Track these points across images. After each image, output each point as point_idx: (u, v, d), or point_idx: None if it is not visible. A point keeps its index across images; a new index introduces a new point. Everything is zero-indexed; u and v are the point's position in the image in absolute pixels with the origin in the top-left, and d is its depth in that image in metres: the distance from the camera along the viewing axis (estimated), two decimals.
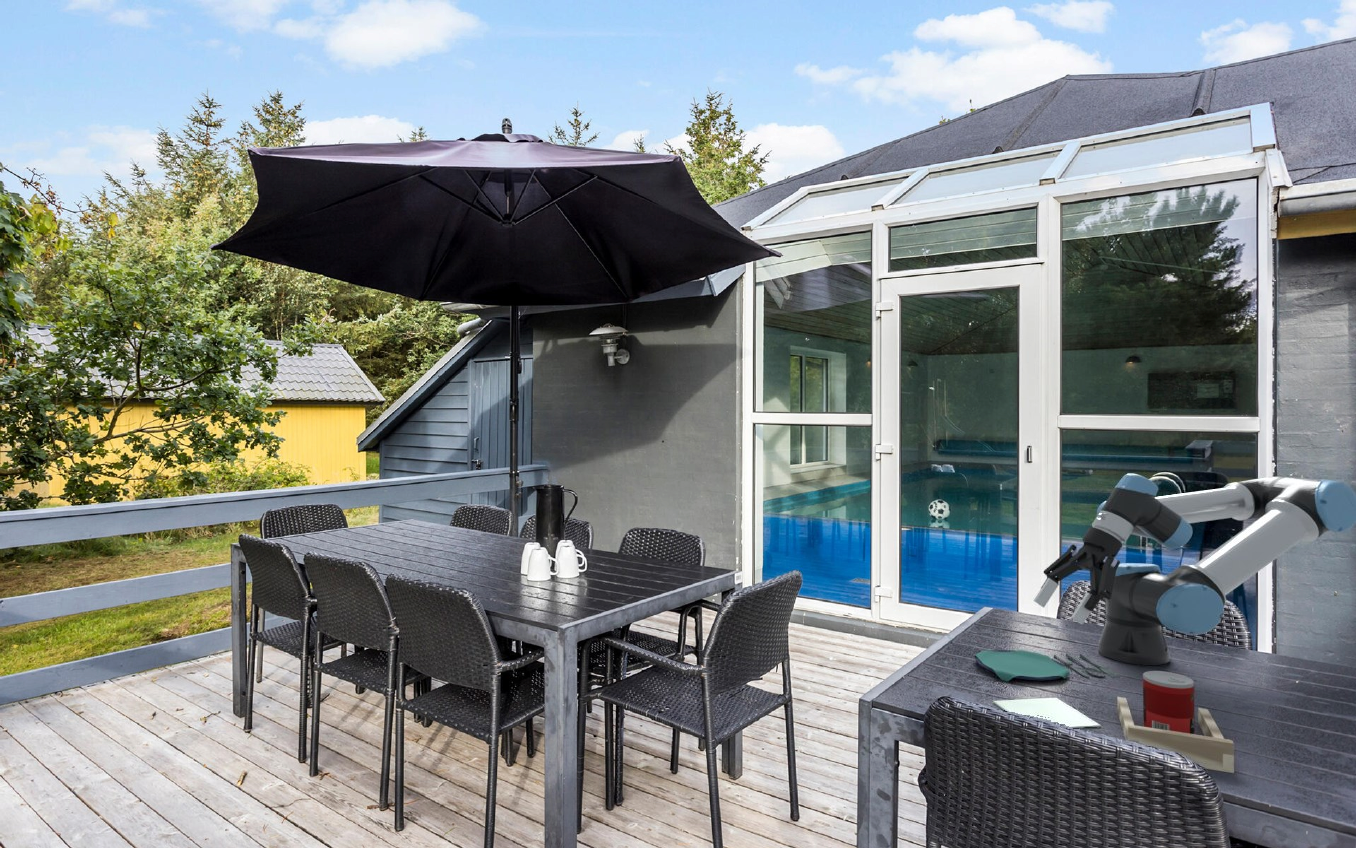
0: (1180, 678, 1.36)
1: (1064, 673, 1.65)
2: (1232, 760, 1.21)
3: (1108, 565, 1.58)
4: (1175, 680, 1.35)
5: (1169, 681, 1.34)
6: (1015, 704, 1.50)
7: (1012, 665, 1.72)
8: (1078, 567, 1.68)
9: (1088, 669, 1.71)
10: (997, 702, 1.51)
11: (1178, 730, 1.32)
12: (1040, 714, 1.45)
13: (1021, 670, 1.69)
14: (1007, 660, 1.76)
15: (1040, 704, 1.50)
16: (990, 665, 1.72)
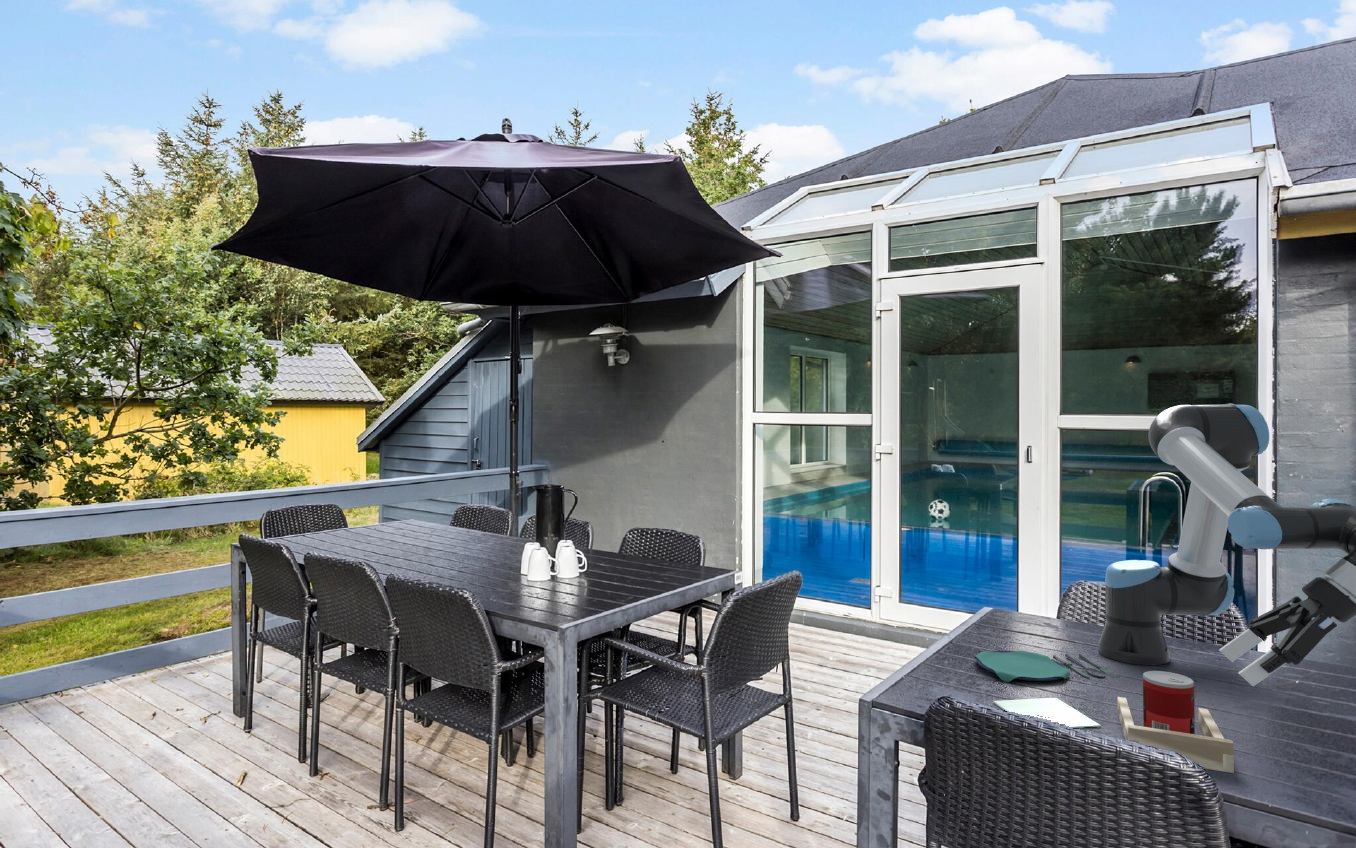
0: (1180, 678, 1.36)
1: (1065, 673, 1.65)
2: (1232, 760, 1.21)
3: None
4: (1175, 680, 1.35)
5: (1169, 681, 1.34)
6: (1015, 704, 1.50)
7: (1012, 666, 1.72)
8: None
9: (1088, 669, 1.71)
10: (997, 702, 1.51)
11: (1178, 730, 1.32)
12: (1040, 714, 1.45)
13: (1022, 671, 1.68)
14: (1007, 660, 1.76)
15: (1040, 704, 1.50)
16: (990, 666, 1.71)
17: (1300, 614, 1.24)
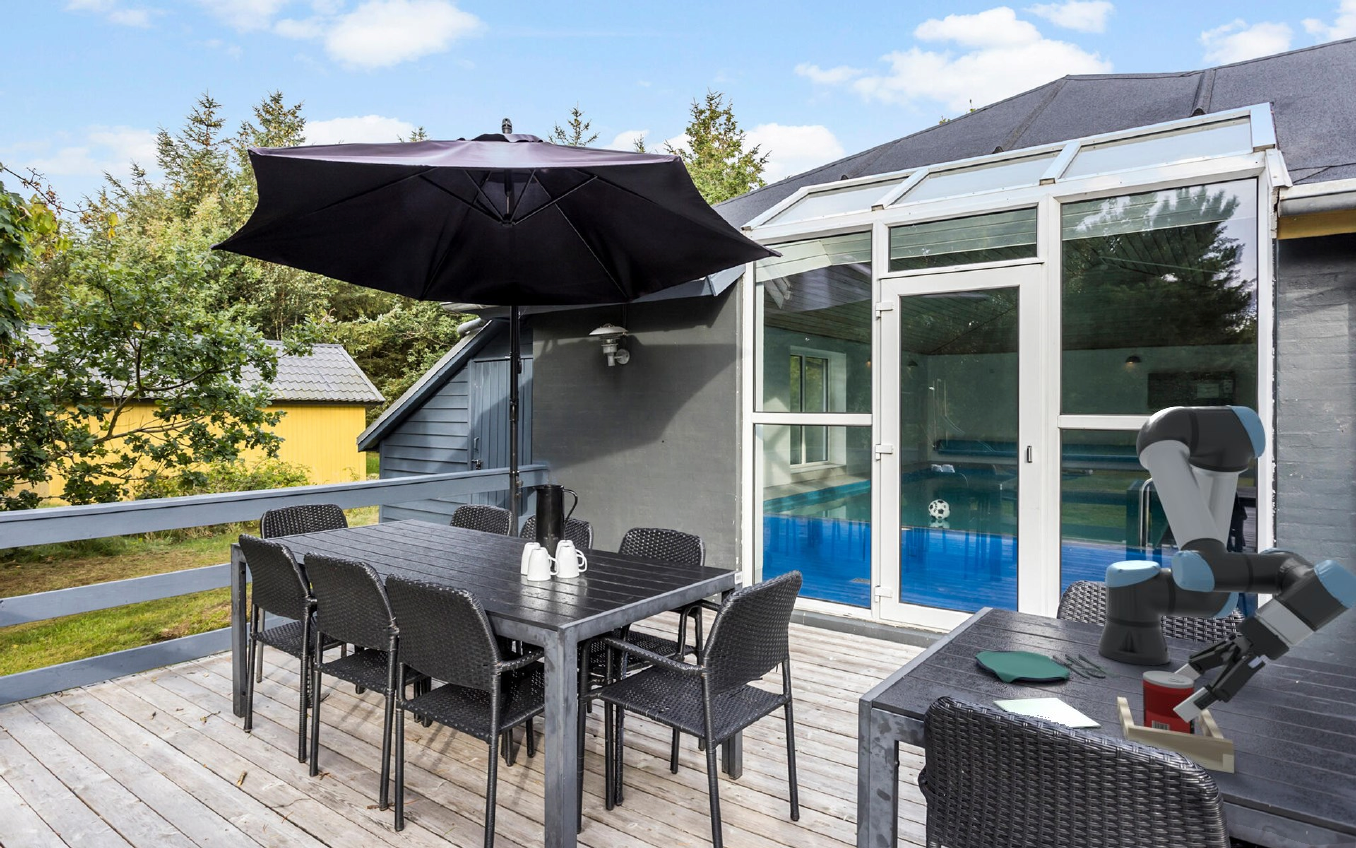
0: (1180, 678, 1.36)
1: (1065, 674, 1.64)
2: (1232, 760, 1.21)
3: None
4: (1175, 680, 1.35)
5: (1169, 681, 1.34)
6: (1015, 704, 1.50)
7: (1013, 666, 1.71)
8: None
9: (1088, 669, 1.71)
10: (997, 702, 1.51)
11: (1178, 730, 1.32)
12: (1040, 714, 1.45)
13: (1022, 671, 1.68)
14: (1007, 661, 1.75)
15: (1040, 704, 1.50)
16: (991, 666, 1.71)
17: (1232, 652, 1.28)
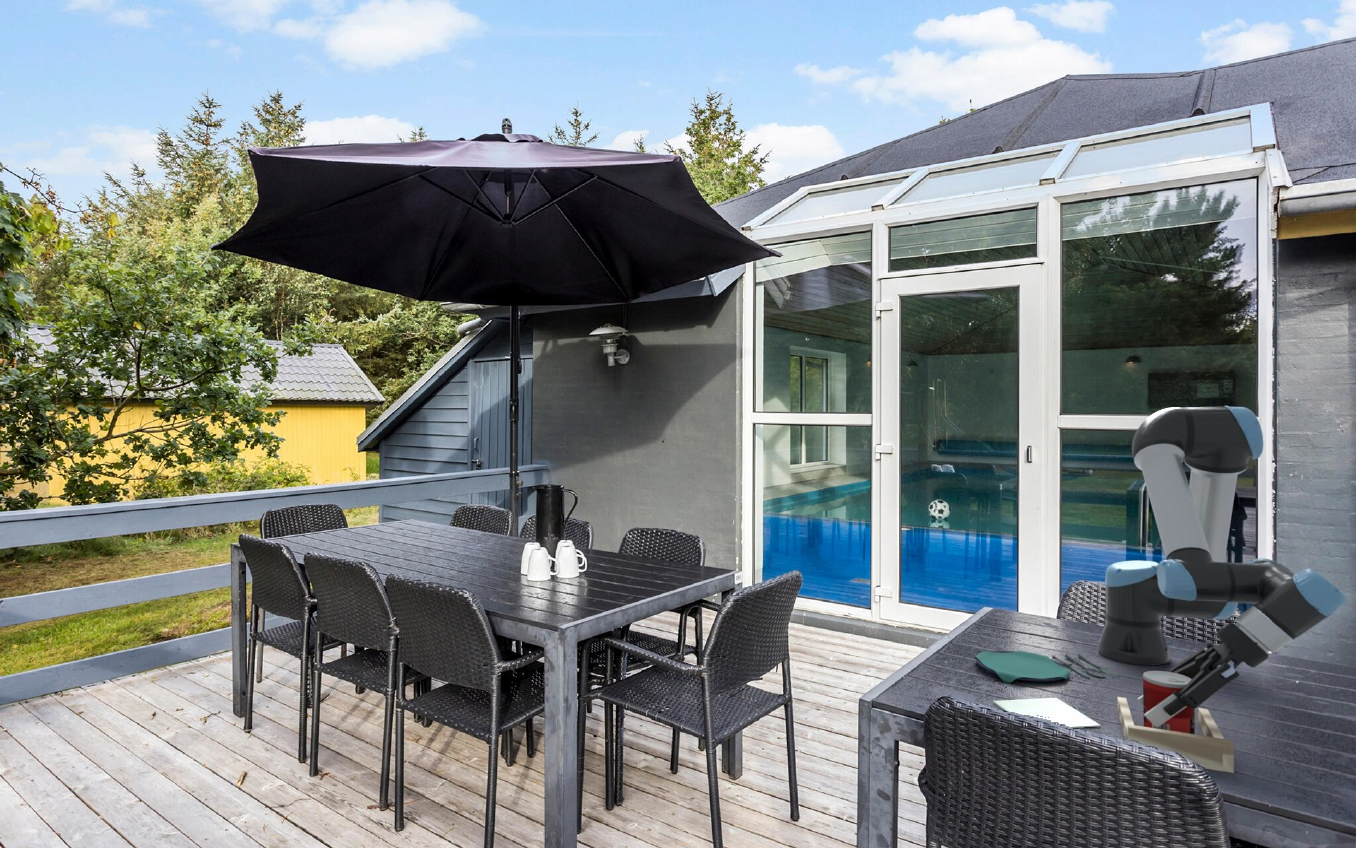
0: (1180, 678, 1.36)
1: (1065, 674, 1.64)
2: (1232, 760, 1.21)
3: None
4: (1175, 680, 1.35)
5: (1169, 681, 1.34)
6: (1015, 704, 1.50)
7: (1013, 666, 1.71)
8: None
9: (1088, 669, 1.71)
10: (997, 702, 1.51)
11: (1178, 730, 1.32)
12: (1040, 714, 1.45)
13: (1022, 671, 1.68)
14: (1007, 661, 1.75)
15: (1040, 704, 1.50)
16: (991, 666, 1.71)
17: (1210, 660, 1.30)
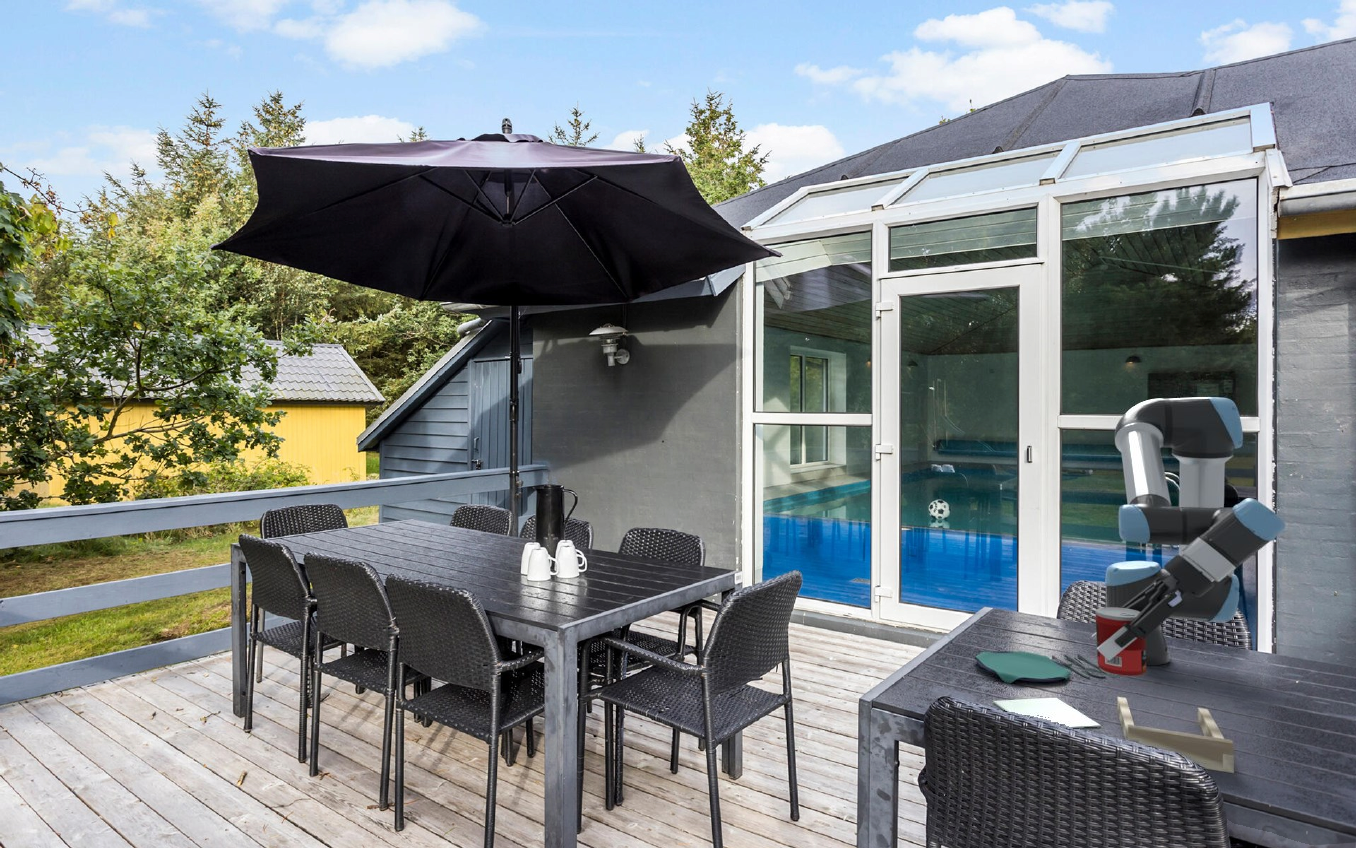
0: (1131, 612, 1.38)
1: (1066, 674, 1.64)
2: (1232, 760, 1.21)
3: None
4: (1126, 614, 1.37)
5: (1120, 615, 1.37)
6: (1015, 704, 1.50)
7: (1013, 666, 1.71)
8: None
9: (1088, 669, 1.71)
10: (997, 702, 1.51)
11: (1130, 662, 1.34)
12: (1040, 714, 1.45)
13: (1023, 671, 1.68)
14: (1007, 661, 1.75)
15: (1040, 704, 1.50)
16: (991, 667, 1.71)
17: (1158, 592, 1.33)
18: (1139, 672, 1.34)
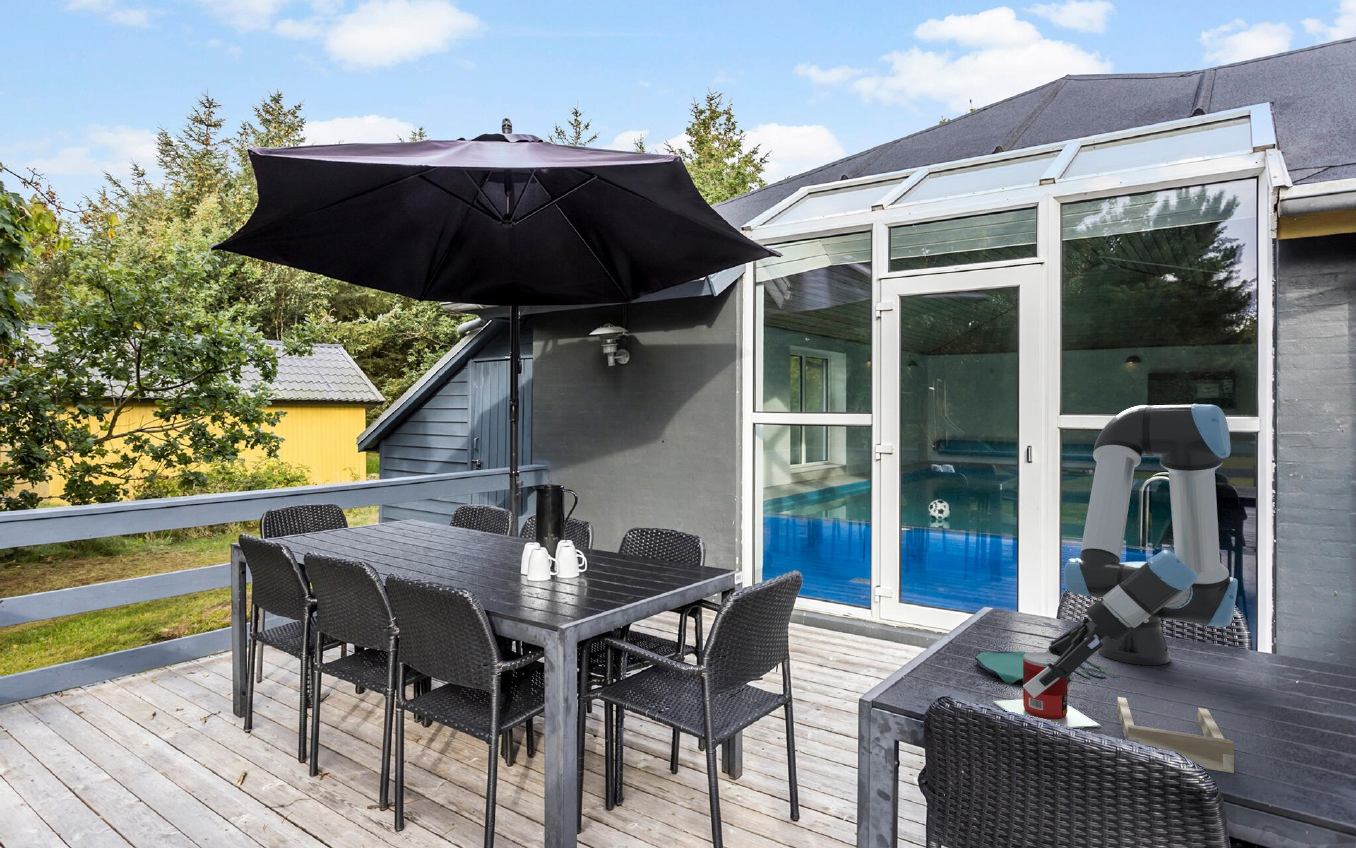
0: (1056, 659, 1.46)
1: None
2: (1232, 760, 1.21)
3: None
4: (1051, 660, 1.45)
5: (1045, 661, 1.45)
6: (1015, 704, 1.50)
7: (1013, 667, 1.71)
8: None
9: (1088, 669, 1.70)
10: (997, 702, 1.51)
11: (1051, 706, 1.42)
12: None
13: None
14: (1007, 662, 1.75)
15: None
16: (992, 667, 1.70)
17: (1079, 634, 1.41)
18: (1059, 716, 1.42)
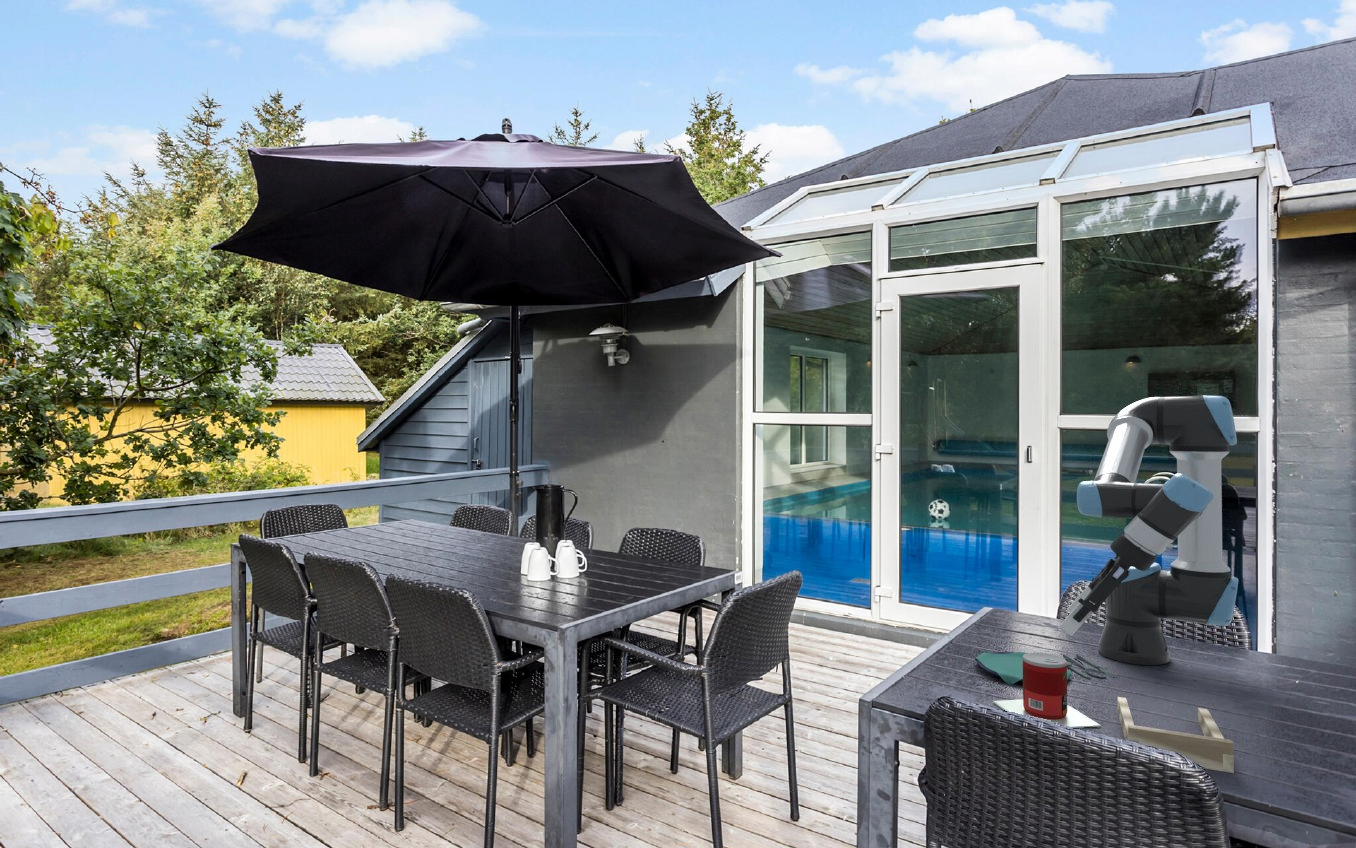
0: (1056, 659, 1.46)
1: (1067, 675, 1.64)
2: (1232, 760, 1.21)
3: None
4: (1050, 660, 1.45)
5: (1044, 661, 1.45)
6: (1015, 704, 1.50)
7: (1014, 667, 1.70)
8: None
9: (1088, 670, 1.70)
10: (997, 702, 1.51)
11: (1050, 706, 1.42)
12: None
13: None
14: (1008, 662, 1.74)
15: None
16: (992, 668, 1.70)
17: (1106, 568, 1.42)
18: (1059, 716, 1.42)
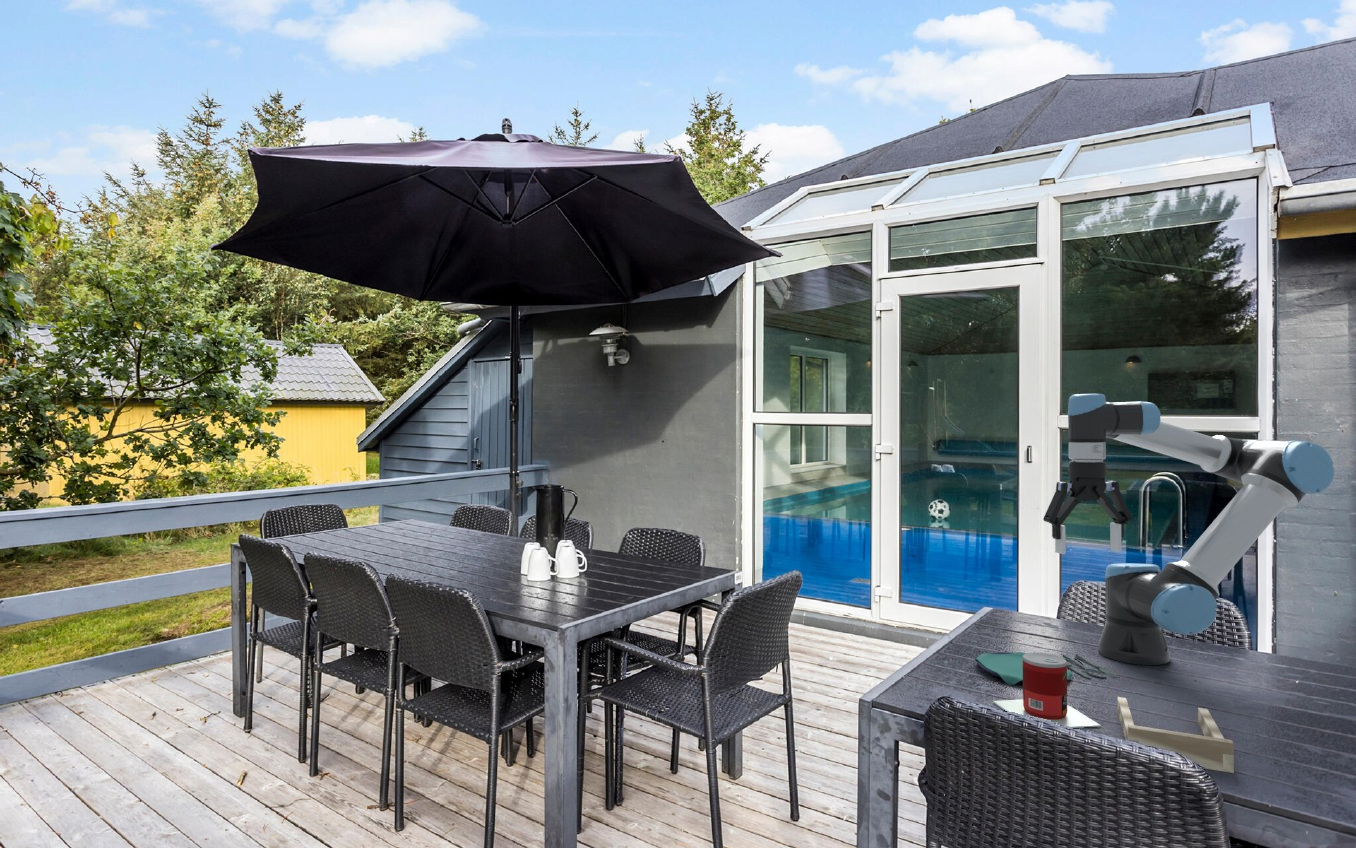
0: (1056, 659, 1.46)
1: (1067, 675, 1.64)
2: (1232, 760, 1.21)
3: None
4: (1050, 660, 1.45)
5: (1044, 661, 1.45)
6: (1015, 704, 1.50)
7: (1014, 668, 1.70)
8: None
9: (1088, 670, 1.70)
10: (997, 702, 1.51)
11: (1050, 706, 1.42)
12: None
13: None
14: (1008, 663, 1.74)
15: None
16: (993, 669, 1.69)
17: (1071, 491, 1.68)
18: (1059, 716, 1.42)
